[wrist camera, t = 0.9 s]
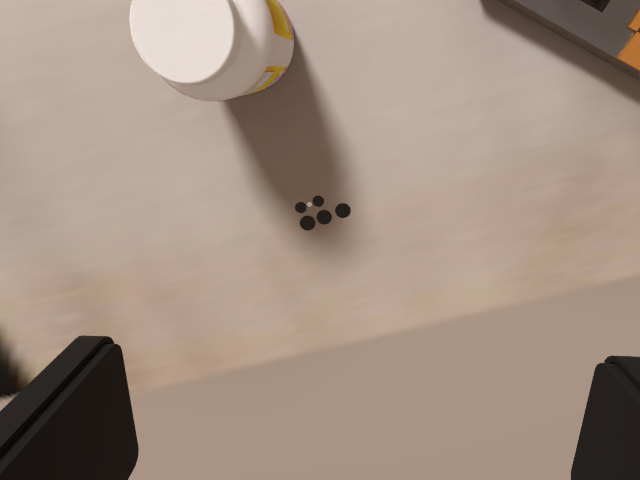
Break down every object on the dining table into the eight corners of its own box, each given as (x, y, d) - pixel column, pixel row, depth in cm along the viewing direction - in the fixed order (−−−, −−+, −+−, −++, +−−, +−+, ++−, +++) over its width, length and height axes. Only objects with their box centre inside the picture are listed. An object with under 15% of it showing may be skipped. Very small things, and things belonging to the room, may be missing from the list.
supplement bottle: (212, -28, 31) (120, -90, 19) (308, 7, 31) (277, -32, 19) (190, 74, 33) (95, 78, 21) (278, 106, 34) (235, 127, 22)
